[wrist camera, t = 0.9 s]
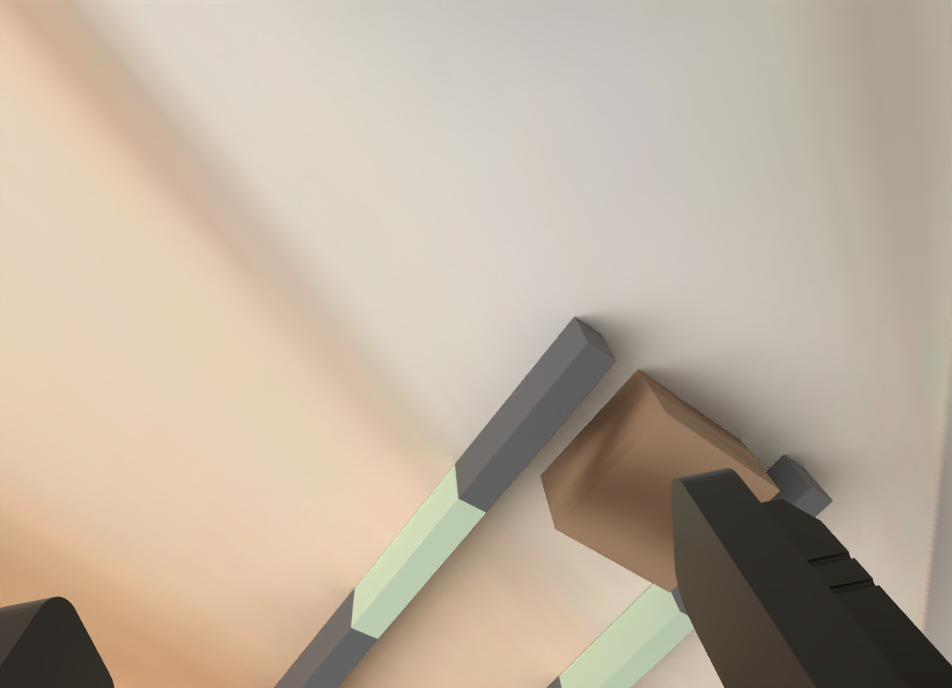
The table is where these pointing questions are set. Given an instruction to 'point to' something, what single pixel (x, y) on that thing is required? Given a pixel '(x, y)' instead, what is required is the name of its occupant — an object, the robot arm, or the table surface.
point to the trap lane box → (474, 492)
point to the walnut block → (640, 476)
